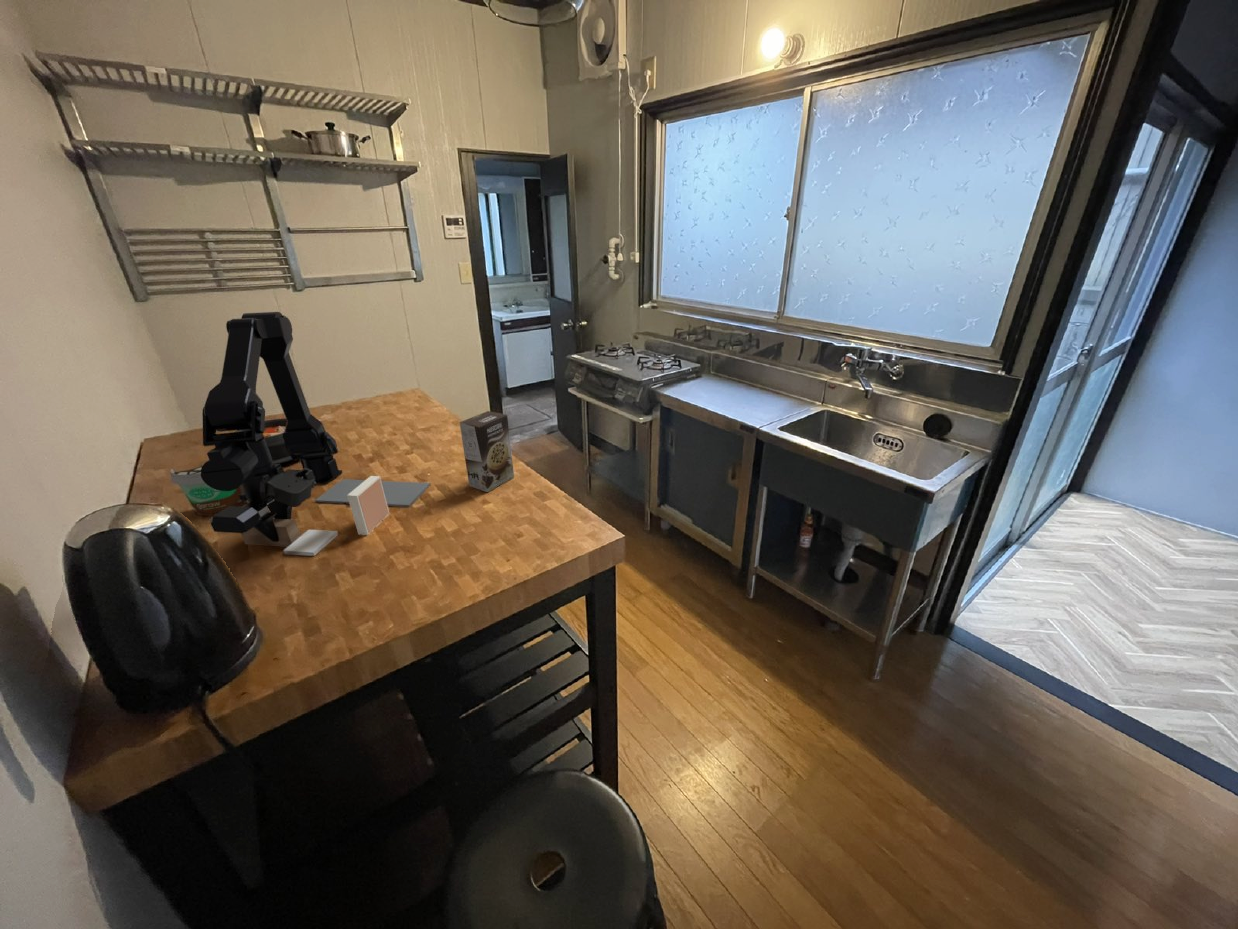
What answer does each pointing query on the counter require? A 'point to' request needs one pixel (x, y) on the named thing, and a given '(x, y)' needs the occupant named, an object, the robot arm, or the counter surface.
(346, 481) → the rest mat
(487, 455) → the coffee box
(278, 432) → the casserole
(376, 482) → the glazed tile
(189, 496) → the food container
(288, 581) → the counter surface
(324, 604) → the counter surface
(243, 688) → the counter surface
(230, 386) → the robot arm
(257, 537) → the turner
